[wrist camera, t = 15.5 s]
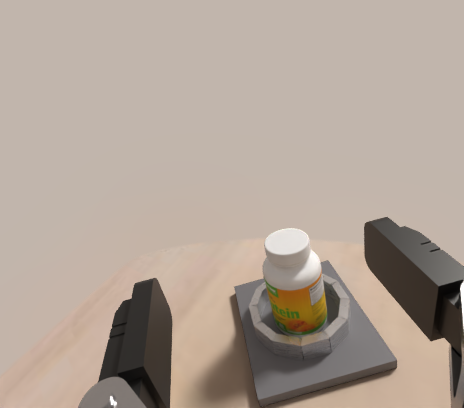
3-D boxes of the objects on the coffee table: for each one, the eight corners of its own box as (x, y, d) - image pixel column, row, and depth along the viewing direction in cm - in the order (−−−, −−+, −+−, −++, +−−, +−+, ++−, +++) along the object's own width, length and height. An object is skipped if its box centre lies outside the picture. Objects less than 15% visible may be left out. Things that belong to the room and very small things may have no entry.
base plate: (260, 406, 26) (258, 399, 26) (236, 292, 39) (234, 286, 38) (396, 367, 26) (397, 359, 26) (328, 266, 39) (328, 260, 38)
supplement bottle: (264, 325, 32) (244, 250, 28) (291, 291, 35) (277, 219, 31) (311, 349, 28) (297, 267, 24) (337, 309, 32) (328, 230, 27)
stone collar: (265, 371, 28) (261, 357, 27) (246, 296, 36) (243, 283, 35) (369, 342, 28) (368, 326, 27) (325, 274, 36) (324, 260, 35)
